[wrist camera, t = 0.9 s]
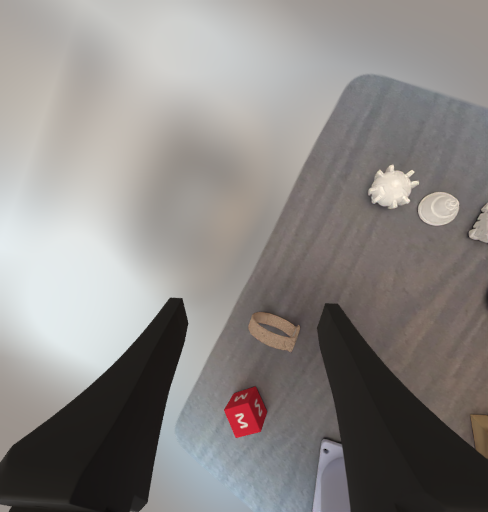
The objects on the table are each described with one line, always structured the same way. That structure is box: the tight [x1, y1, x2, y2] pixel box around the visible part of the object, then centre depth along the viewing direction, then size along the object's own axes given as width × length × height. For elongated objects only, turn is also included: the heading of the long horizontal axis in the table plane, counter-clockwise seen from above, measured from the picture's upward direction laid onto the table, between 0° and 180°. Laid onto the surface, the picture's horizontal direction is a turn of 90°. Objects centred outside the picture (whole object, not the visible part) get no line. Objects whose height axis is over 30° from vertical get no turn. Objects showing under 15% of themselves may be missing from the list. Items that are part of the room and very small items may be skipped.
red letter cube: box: [224, 386, 267, 438], centre depth 25 cm, size 3×3×3 cm
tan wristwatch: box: [249, 312, 300, 352], centre depth 23 cm, size 3×5×5 cm, turn 71°
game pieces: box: [368, 165, 488, 243], centre depth 19 cm, size 12×3×3 cm, turn 67°
